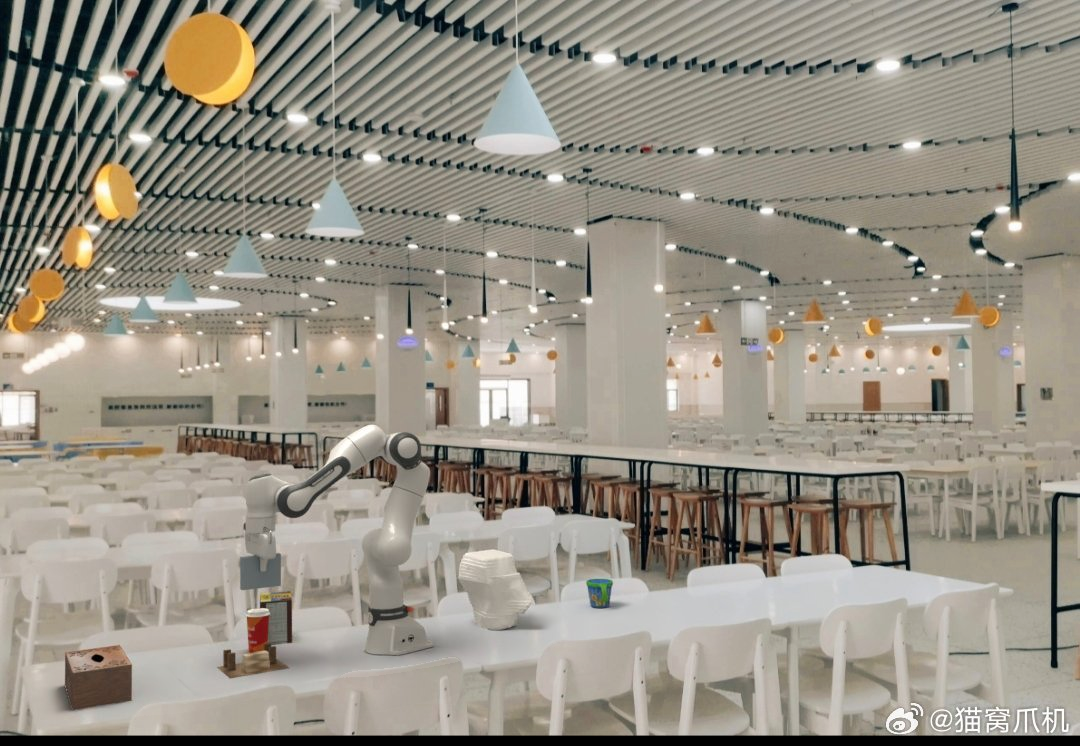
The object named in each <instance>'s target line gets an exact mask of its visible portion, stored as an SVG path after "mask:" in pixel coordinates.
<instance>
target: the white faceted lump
mask: <svg viewBox="0 0 1080 746" xmlns="http://www.w3.org/2000/svg"><path fill="white" fill-rule="evenodd" d="M515 564H516V562H515V557H514V555H513V554H512V553H509V552H505V551H501V550H497V549H493V548H492V549H486V550H485V549H484V550H478V551H477V550H476V551H470V552H465V553H464V554H463V555H462V558H461V562H459V565H458V566H459V569H458V577H457V579H459V582H460V584H461V585H462V587H463V589H464V591H465V593H467V598H468V601H469V603H470V605H471V607H472V613H473V618H474V621H475V624H476V625H477V626H478V627H479V628H482V629H483V628H484V629H487V630H490V631H502V630H505V629H510V628H512V627H514V626H516V625H517V623H518V617H519V615H521V614H525V613H526V612H527V611H528V609H529V608H530V606H531V605H532V603H533V598H532V596H531V594H530V593H529V590H528V587H527V586H526V582H525V581H524V579H523V578H522V575H521V572H518V570H517V568H516V565H515Z"/></svg>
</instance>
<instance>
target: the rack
mask: <svg viewBox="0 0 1080 746" xmlns="http://www.w3.org/2000/svg"><path fill="white" fill-rule="evenodd" d="M222 651H223V655H222V657H223V658H222V659H223V660H222V663H223V665H219V666H217V667H216V668H217V669H218V670H220V672H222V673H223V674H224V675H225V676H226V677H228V679H235V678H240V677H248V676H252V675H259V674H265V673H271V672H276V671H282V670H286V669H291V667H290V666H288V665H286V664H285V663H284V662H282V661H281V660H280V659H278V658H277V646H276V645H271V643H267V644H264V651H267V652H269V661H270V669H268V670H262V671H256V672H250V673H246V672H244V664H243V663H242V662H238V663H236V659H237V658H236V655H237V654H236V652H232V649H231V648H230V649H229V648H228V649H223V650H222Z"/></svg>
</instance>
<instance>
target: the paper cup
mask: <svg viewBox="0 0 1080 746" xmlns="http://www.w3.org/2000/svg"><path fill="white" fill-rule="evenodd" d="M269 615H270V612H269V609H265V608H260V607H259V608H252V609H248V610H247V611H246V613H245V617H246V625H247V626H246V627H247V628H246V629H247V644H248V645H247V647H248V653H254V652H259V651H264V644H267V643H268V628H269Z"/></svg>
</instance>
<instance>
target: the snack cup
mask: <svg viewBox="0 0 1080 746" xmlns="http://www.w3.org/2000/svg"><path fill="white" fill-rule="evenodd" d="M613 581H614V580H612V579H608V578H589V579H587V580H586V581H585V582H586V583H585V584H586V586H587V592H588V599H589V604H590V607H592V608H594V609H595V608H597V609H605V608H608V607H610V604H611V603H610V602H611V594H612V589H613V588H612V587H613V585H614V582H613Z"/></svg>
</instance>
